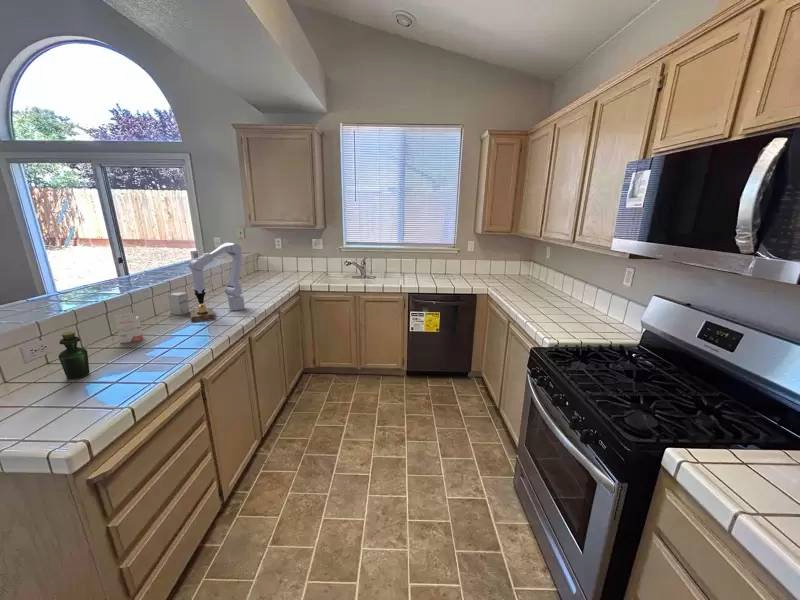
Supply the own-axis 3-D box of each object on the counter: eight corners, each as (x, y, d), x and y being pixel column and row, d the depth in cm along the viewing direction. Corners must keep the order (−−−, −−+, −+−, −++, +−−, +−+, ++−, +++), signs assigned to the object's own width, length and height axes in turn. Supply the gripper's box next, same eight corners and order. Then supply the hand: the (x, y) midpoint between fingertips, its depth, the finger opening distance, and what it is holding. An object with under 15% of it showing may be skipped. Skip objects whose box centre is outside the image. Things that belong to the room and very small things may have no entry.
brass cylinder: (206, 316, 206) (205, 304, 204) (207, 318, 203) (205, 305, 201) (199, 317, 204) (197, 304, 202) (199, 319, 201) (197, 306, 199)
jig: (213, 312, 214) (212, 307, 214) (214, 319, 201) (214, 314, 201) (191, 314, 208) (190, 309, 207) (191, 321, 195) (191, 317, 194)
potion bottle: (63, 375, 131) (53, 332, 126) (91, 369, 137) (82, 328, 132) (64, 383, 125) (52, 338, 121) (92, 376, 131) (83, 333, 126)
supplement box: (180, 314, 207) (177, 295, 203) (170, 313, 208) (167, 294, 205) (189, 311, 214) (187, 292, 210) (180, 310, 215) (177, 291, 212)
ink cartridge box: (143, 337, 170) (138, 310, 166) (141, 340, 166) (136, 313, 162) (122, 339, 166) (116, 312, 163) (119, 343, 162) (114, 314, 158)
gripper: (190, 278, 201) (193, 300, 204) (190, 283, 189) (193, 305, 193) (203, 277, 205) (206, 298, 208) (204, 282, 193) (207, 304, 196)
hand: (201, 302), depth 201 cm, fingers open, 6 cm apart
